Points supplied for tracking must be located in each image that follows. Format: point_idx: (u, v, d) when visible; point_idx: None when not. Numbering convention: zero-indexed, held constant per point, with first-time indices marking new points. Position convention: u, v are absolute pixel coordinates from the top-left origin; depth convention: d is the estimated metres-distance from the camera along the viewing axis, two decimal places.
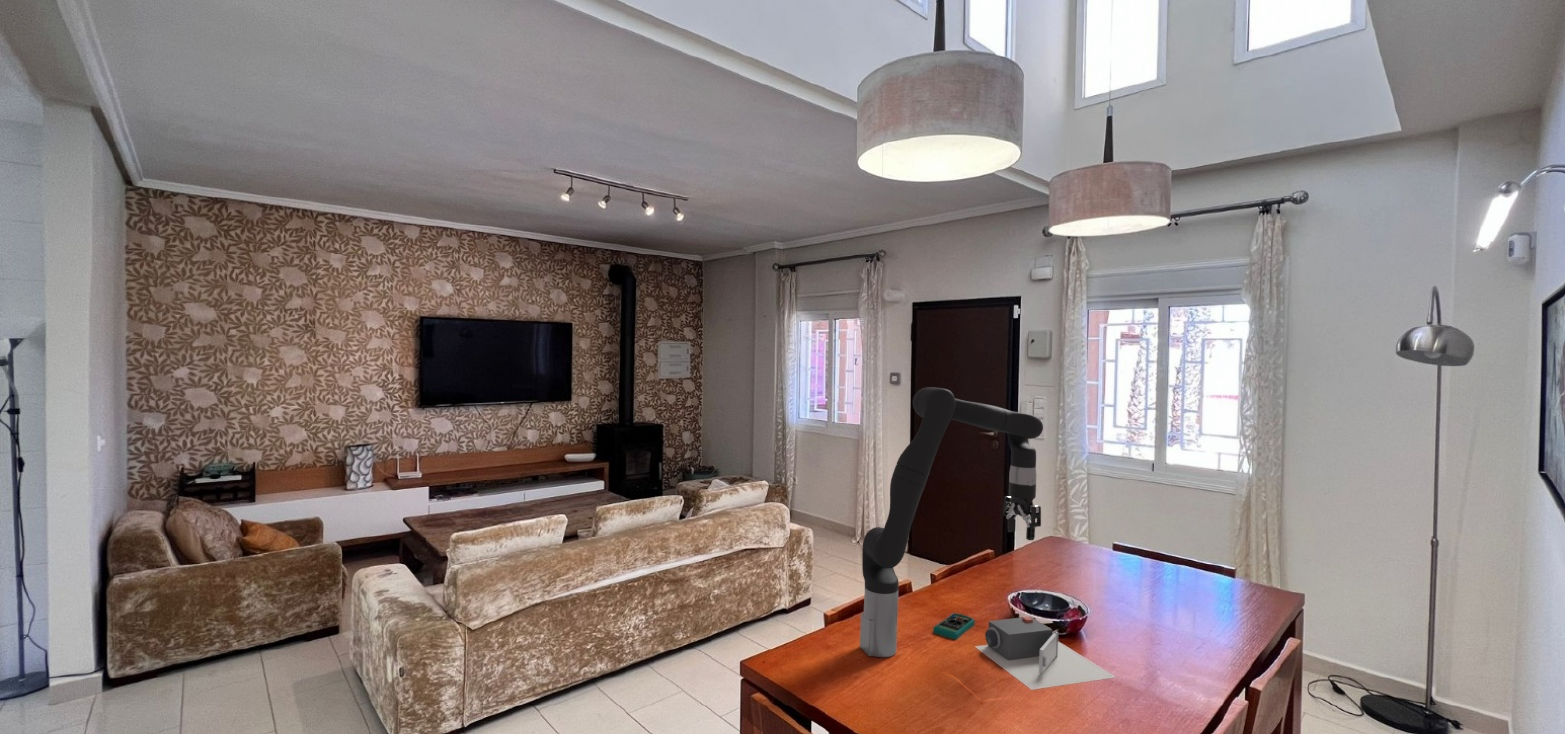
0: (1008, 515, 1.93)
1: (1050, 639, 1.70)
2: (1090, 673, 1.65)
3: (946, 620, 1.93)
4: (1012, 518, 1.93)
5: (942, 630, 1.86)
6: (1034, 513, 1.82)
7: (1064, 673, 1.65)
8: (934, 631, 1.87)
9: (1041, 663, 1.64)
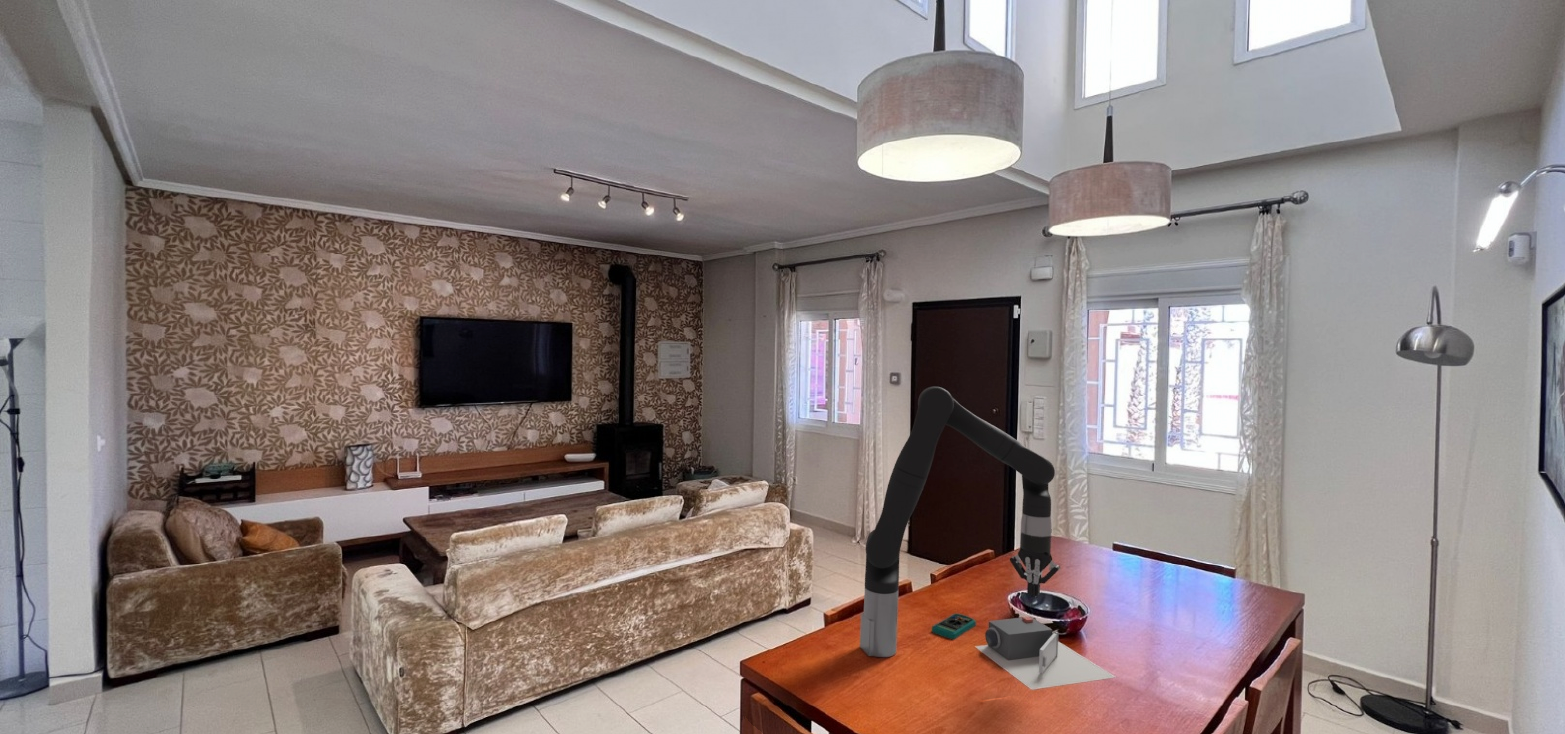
0: (1030, 578, 1.68)
1: (1050, 639, 1.70)
2: (1090, 673, 1.65)
3: (946, 620, 1.93)
4: (1033, 579, 1.69)
5: (940, 629, 1.86)
6: (1053, 574, 1.65)
7: (1064, 673, 1.65)
8: (932, 631, 1.88)
9: (1041, 663, 1.64)
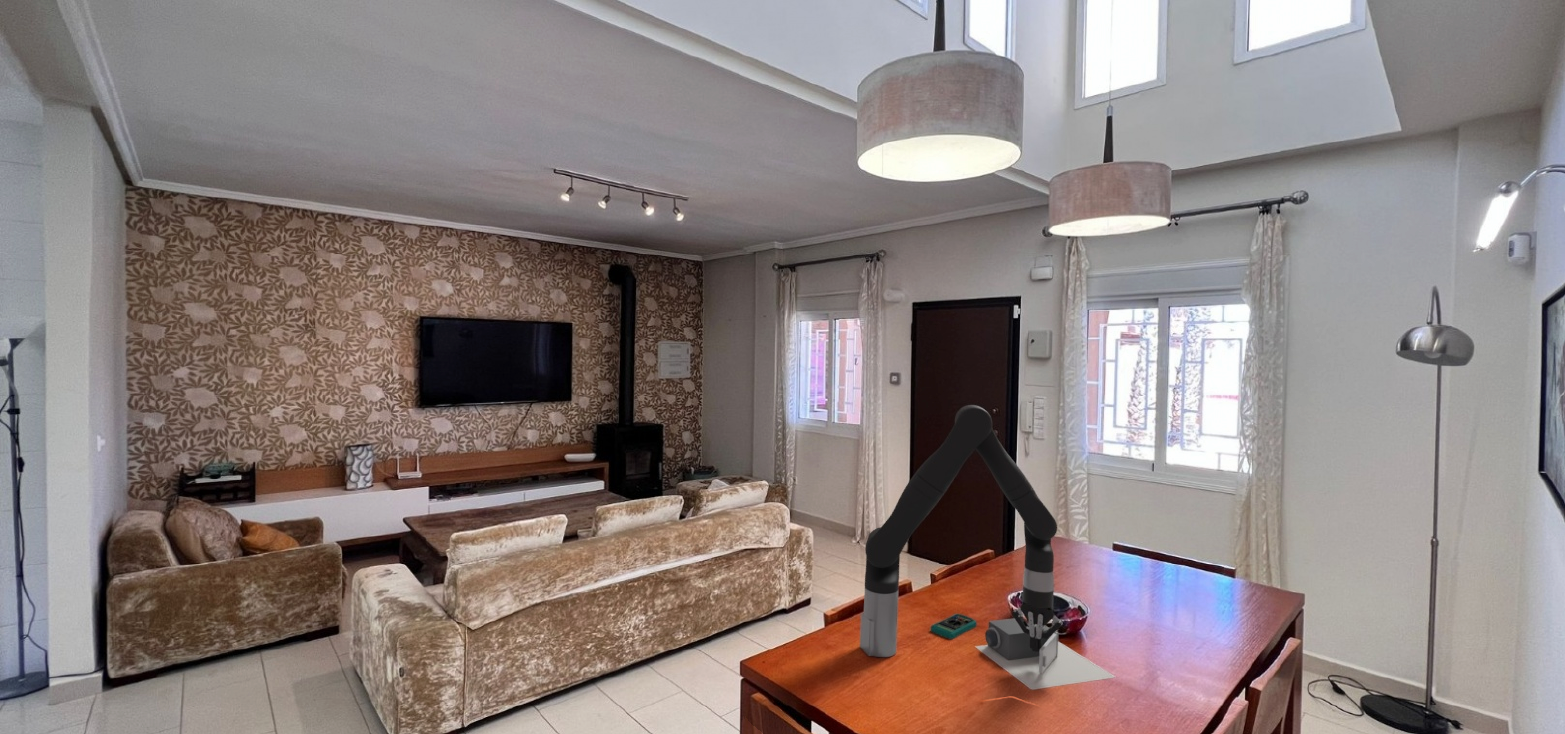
0: (1033, 633, 1.68)
1: (1050, 639, 1.70)
2: (1090, 673, 1.65)
3: (946, 620, 1.93)
4: (1035, 633, 1.68)
5: (938, 629, 1.86)
6: (1056, 629, 1.65)
7: (1064, 673, 1.65)
8: (931, 630, 1.88)
9: (1041, 663, 1.64)
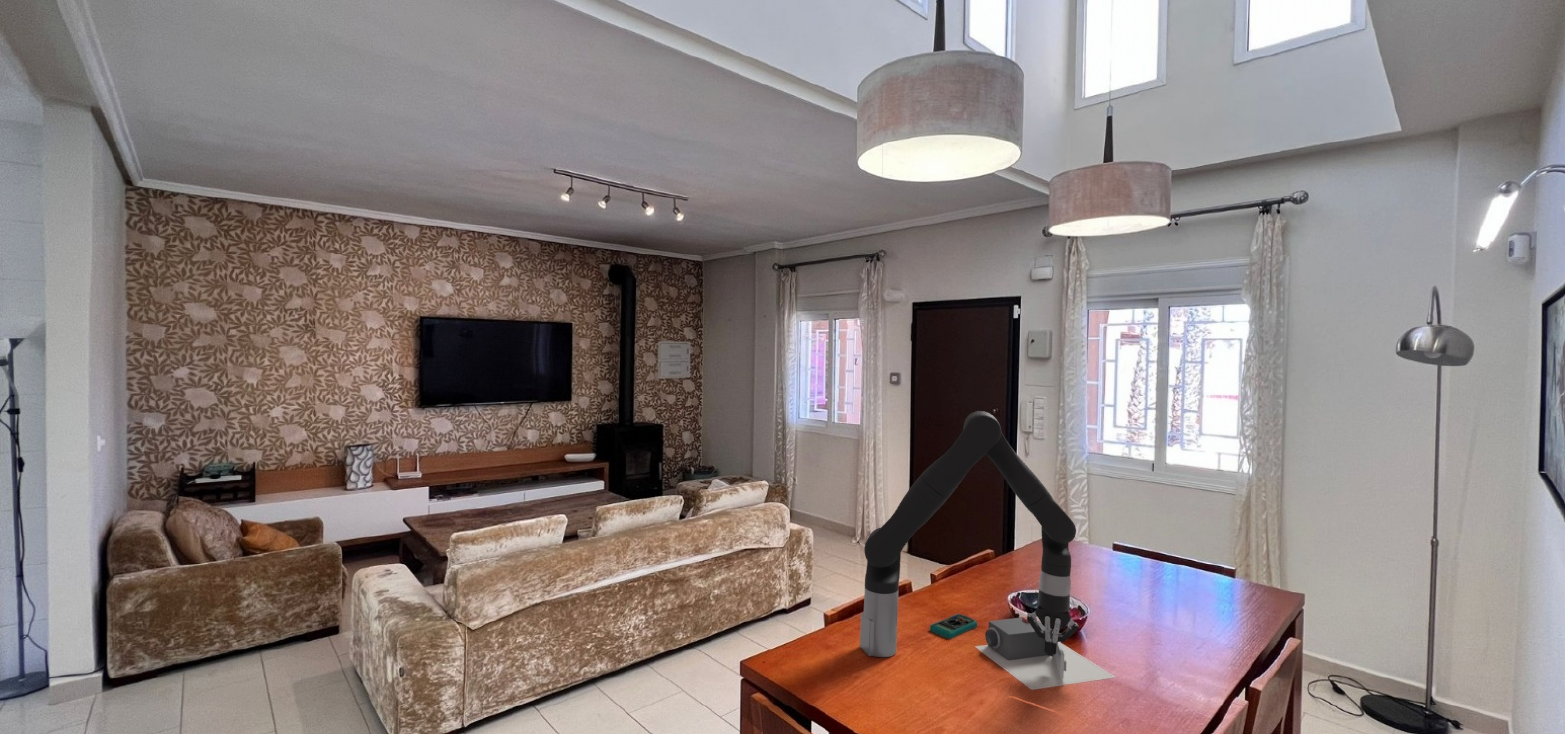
0: (1049, 637, 1.65)
1: None
2: (1090, 673, 1.65)
3: (946, 620, 1.93)
4: None
5: (937, 628, 1.87)
6: None
7: (1064, 673, 1.65)
8: (930, 629, 1.89)
9: (1063, 668, 1.61)
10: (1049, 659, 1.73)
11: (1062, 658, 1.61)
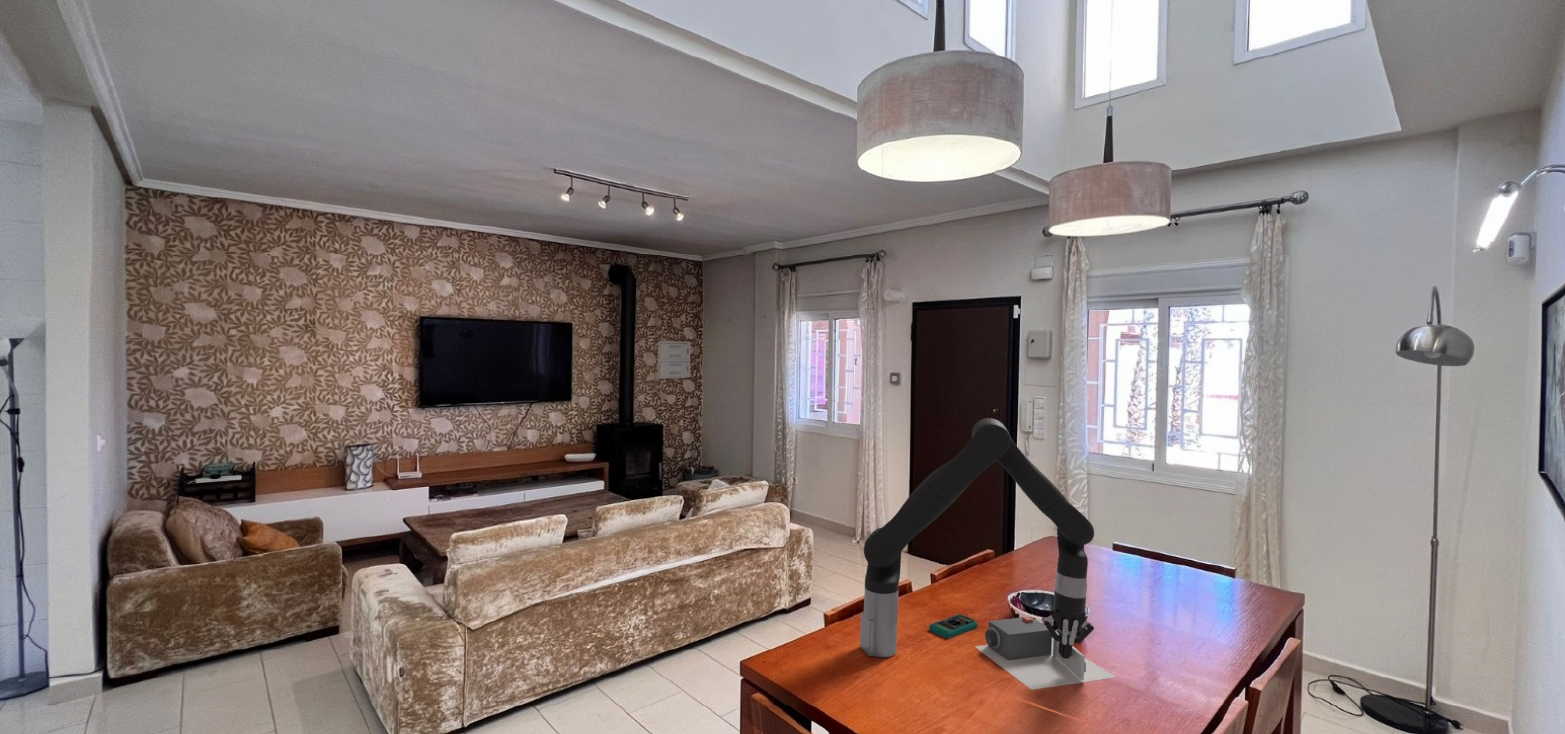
0: (1066, 640, 1.64)
1: None
2: (1090, 673, 1.65)
3: (946, 620, 1.93)
4: None
5: (936, 628, 1.87)
6: None
7: (1064, 673, 1.65)
8: (929, 629, 1.89)
9: (1083, 669, 1.61)
10: (1049, 659, 1.73)
11: (1083, 660, 1.61)
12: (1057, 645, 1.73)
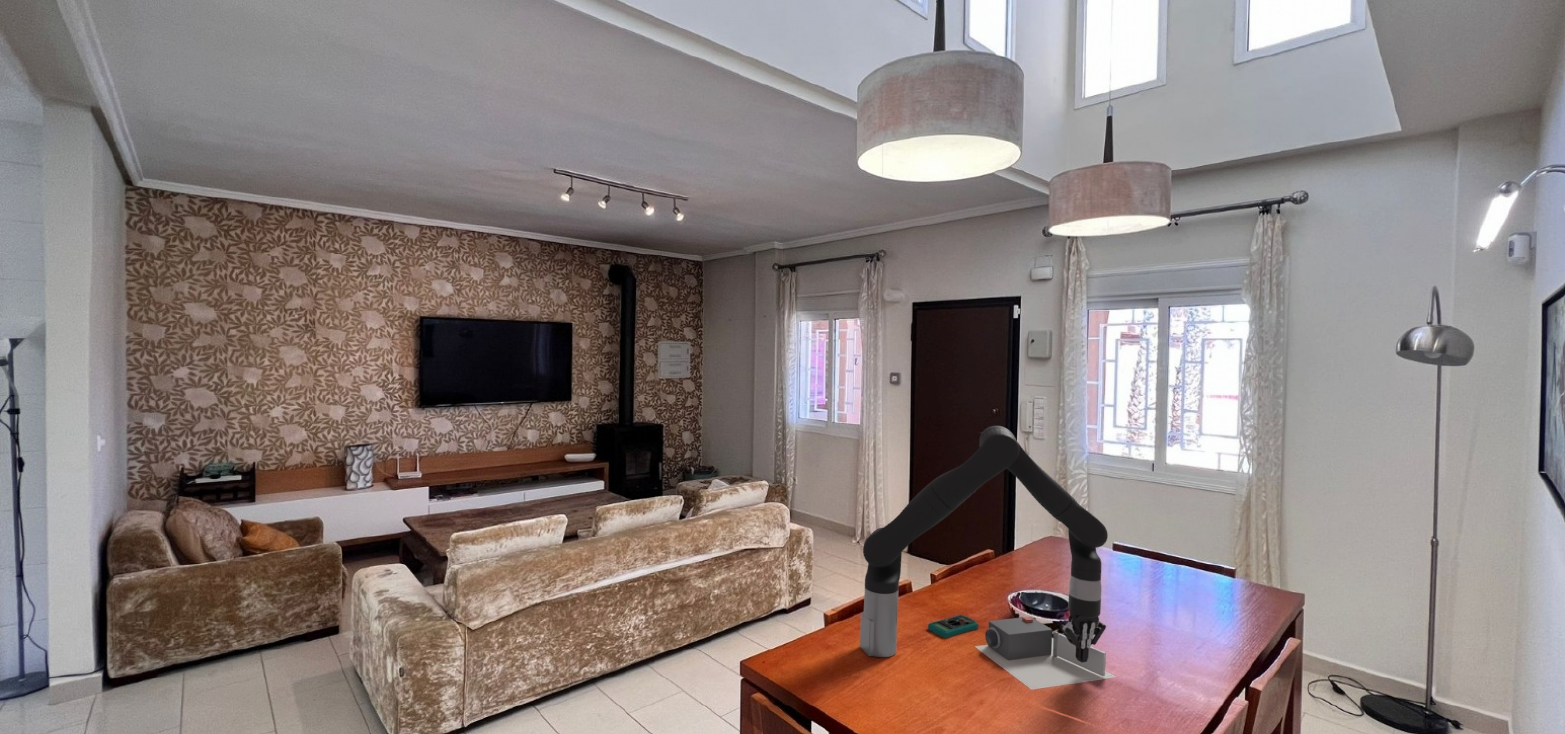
0: (1084, 643, 1.63)
1: None
2: (1090, 673, 1.65)
3: (947, 620, 1.93)
4: None
5: (934, 627, 1.87)
6: None
7: (1064, 673, 1.65)
8: (928, 628, 1.90)
9: (1104, 666, 1.63)
10: (1049, 659, 1.73)
11: (1104, 656, 1.63)
12: (1060, 645, 1.73)
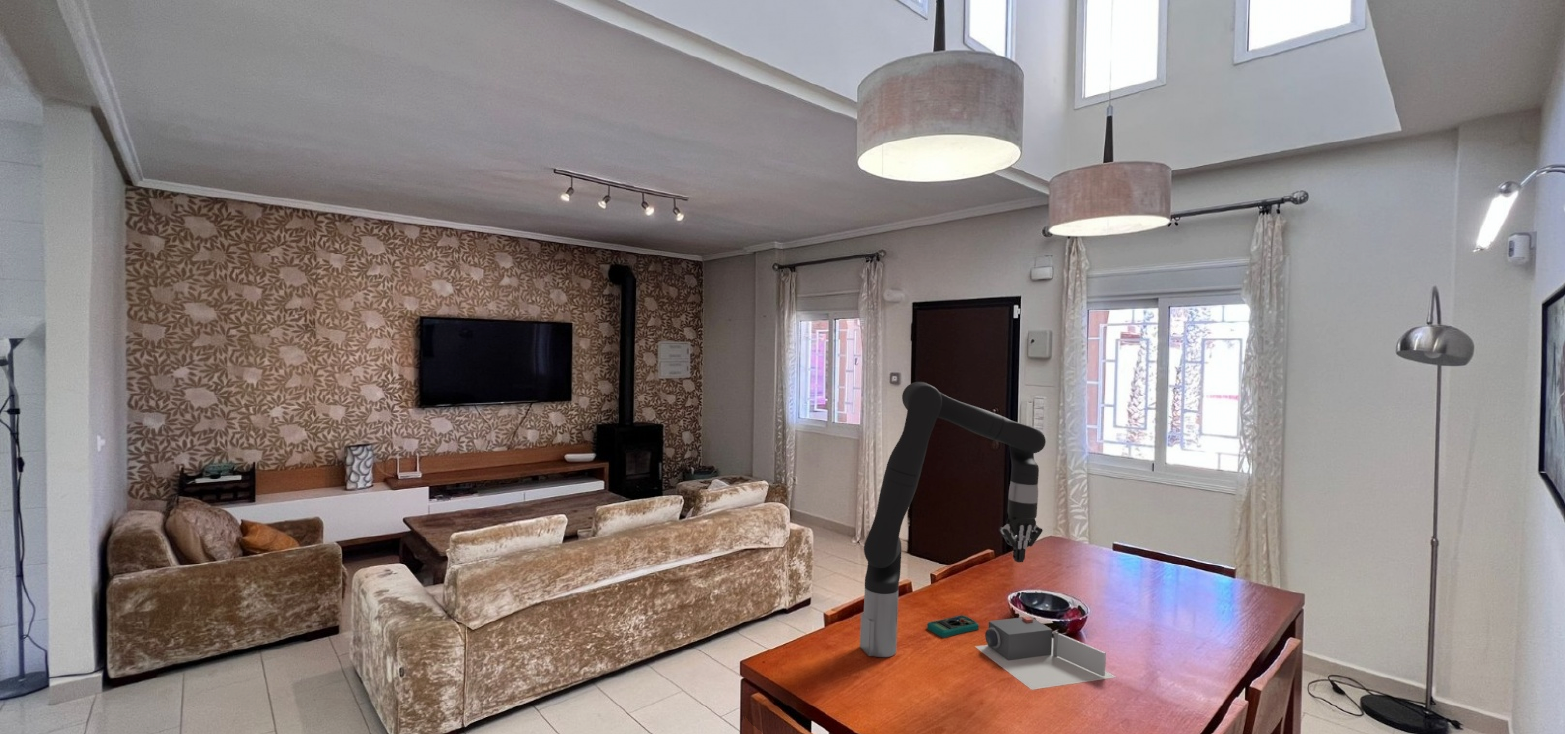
0: (1021, 544, 1.74)
1: (1075, 640, 1.70)
2: (1090, 673, 1.65)
3: (947, 619, 1.93)
4: None
5: (932, 626, 1.88)
6: None
7: (1064, 673, 1.65)
8: (927, 627, 1.90)
9: (1104, 666, 1.63)
10: (1049, 659, 1.73)
11: (1104, 656, 1.63)
12: (1060, 645, 1.73)
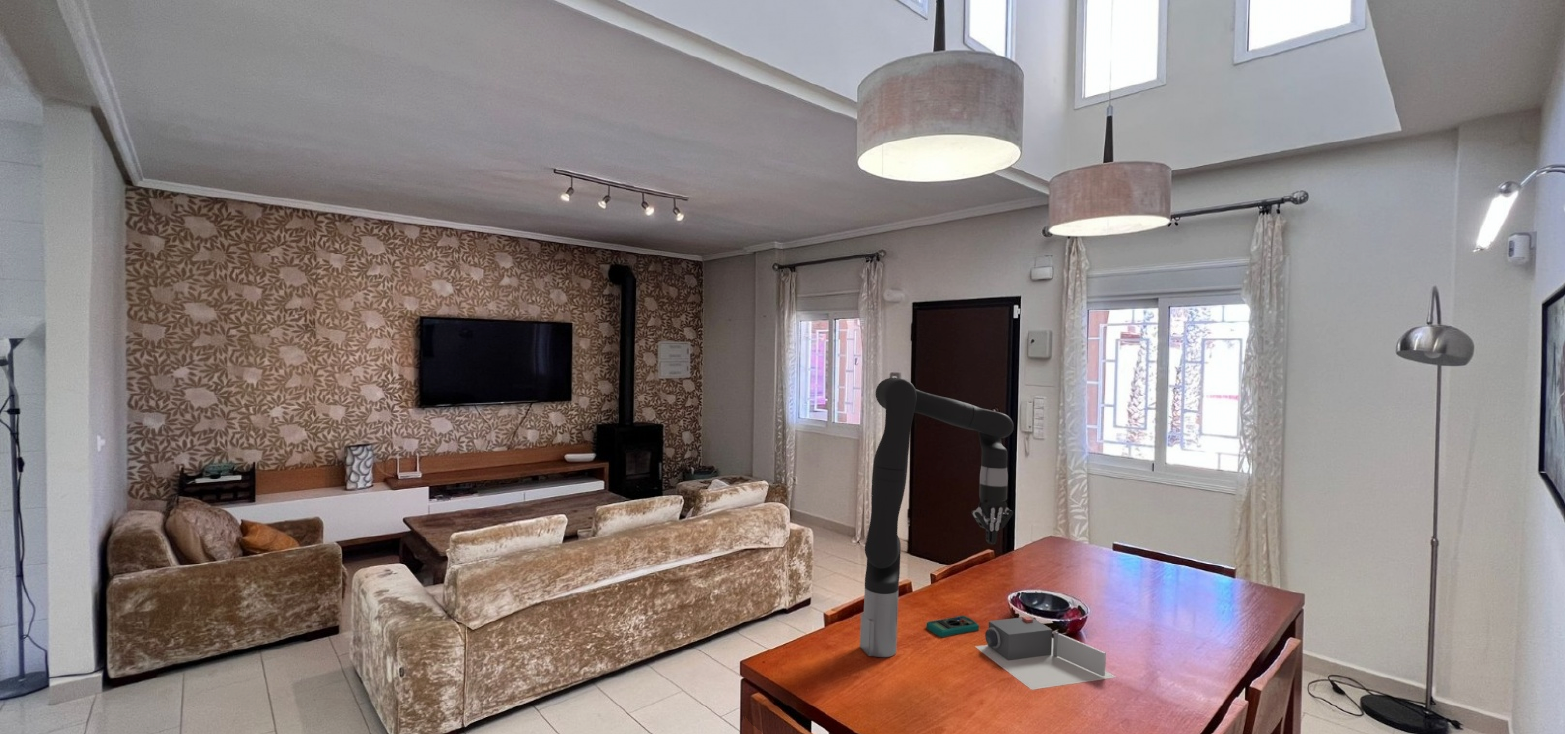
0: (993, 527, 1.80)
1: (1075, 640, 1.70)
2: (1090, 673, 1.65)
3: (947, 619, 1.93)
4: None
5: (931, 626, 1.88)
6: None
7: (1064, 673, 1.65)
8: (926, 627, 1.91)
9: (1104, 666, 1.63)
10: (1049, 659, 1.73)
11: (1104, 656, 1.63)
12: (1060, 645, 1.73)
